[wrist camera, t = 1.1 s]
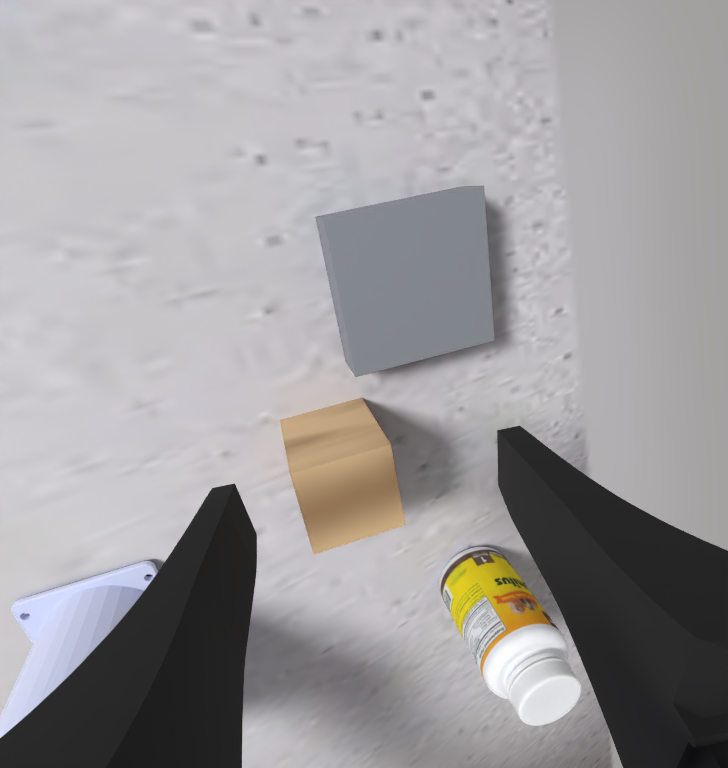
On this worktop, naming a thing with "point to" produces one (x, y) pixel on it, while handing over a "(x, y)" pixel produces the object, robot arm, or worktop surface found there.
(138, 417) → the worktop surface
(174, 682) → the robot arm
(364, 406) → the oak block
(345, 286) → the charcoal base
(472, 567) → the supplement bottle
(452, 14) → the worktop surface
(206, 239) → the worktop surface
